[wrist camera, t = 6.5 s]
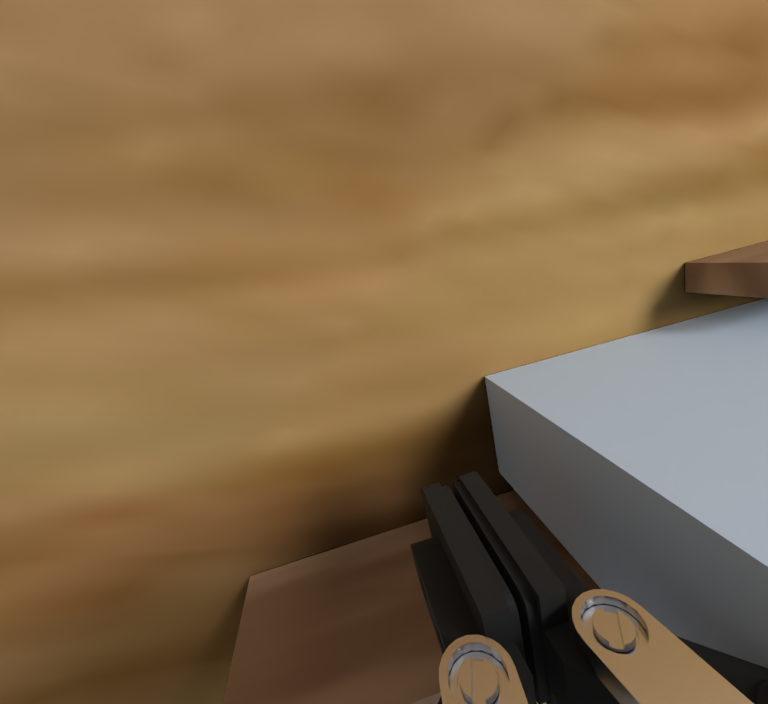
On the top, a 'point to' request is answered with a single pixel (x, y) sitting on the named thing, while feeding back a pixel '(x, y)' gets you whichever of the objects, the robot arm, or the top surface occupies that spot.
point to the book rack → (388, 588)
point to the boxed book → (655, 469)
